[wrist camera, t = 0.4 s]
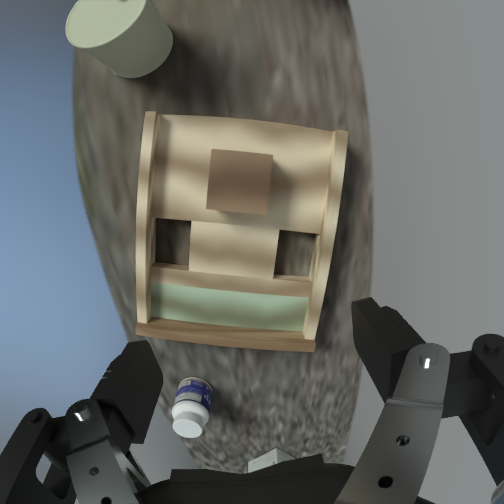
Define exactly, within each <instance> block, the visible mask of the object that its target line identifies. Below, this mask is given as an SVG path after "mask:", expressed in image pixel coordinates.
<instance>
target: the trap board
mask: <svg viewBox="0 0 504 504" xmlns="http://www.w3.org/2000/svg"><path fill="white" fill-rule="evenodd" d="M347 141H348V132H347V131H342V130H336V131H334V132H331V131H326V130H320V129H314V128H309V127H302V126H296V125H289V124H282V123H274V122H266V121H258V120H248V119H238V118H226V117H211V116H191V115H160V114H159V113H157V112H146V113H145V120H144V128H143V137H142V146H141V156H140V167H139V180H138V196H137V218H136V294H137V315H138V323H137V324H136V326H135V327H136V334H137V335H143V336H149V337H155V338H162V339H169V340H176V341H183V342H191V343H199V344H208V345H217V346H227V347H238V348H250V349H264V350H280V351H301V352H314V350H315V346H316V342H315V335H316V331H317V326H318V322H319V317H320V313H321V308H322V303H323V299H324V294H325V289H326V284H327V278H328V273H329V268H330V262H331V257H332V251H333V245H334V239H335V233H336V227H337V221H338V214H339V207H340V200H341V193H342V185H343V177H344V169H345V160H346V151H347ZM212 149H220V150H232V151H243V152H252V153H261V154H270V155H273V162H272V170H271V179H270V188H269V197H268V205H267V214H266V215H260V214H251V213H241V212H231V211H221V210H210V209H206V201H207V190H208V180H209V169H210V160H211V150H212ZM156 218H165V219H177V220H188V221H192V223H191V238H190V256H189V265H179V264H170V263H161V262H155V242H156ZM279 230H288V231H297V232H306V233H315V234H316V236H315V242H314V248H313V255H312V261H311V267H310V273H309V277H302V276H291V275H280V274H274V267H275V260H276V252H277V245H278V237H279Z"/></svg>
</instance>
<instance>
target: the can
mask: <svg viewBox="0 0 504 504" xmlns="http://www.w3.org/2000/svg"><path fill="white" fill-rule="evenodd" d="M66 35H67V38H68V40H69V42H70V43H71V44H72V45H74V46H75V47H78V48H80V49H82V50H83V51H85V52H86V53H88V54H89V55H91V56H93V57H94V58H96V59H97V60H99V61H100V62H102V63H103V64H104V65H106V66H107V67H109V68H110V69H111V70H112V72H114V73H115V74H116V75H118V76H120V77H124V78H137V77H141V76H144V75H147V74H149V73H151V72H152V71H154V70H156V69H157V68H158V67H159V66H160V65H161V64H162V63H163V62H164V61H165V60H166V59H167V57H168V55H169V54H170V51H171V49H172V45H173V35H172V32H171V30H170V28H169V27H168V26H167V25H166V24H165V22H164V21H163V19H162V17H161V15H160V14H159V12H158V10H157V9H156V7H155V5H154V3H153V1H152V0H79V1H78V2H77V3H76V4H75V5H74V7H73V8H72V10H71V12H70V14H69V16H68V19H67V22H66Z"/></svg>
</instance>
